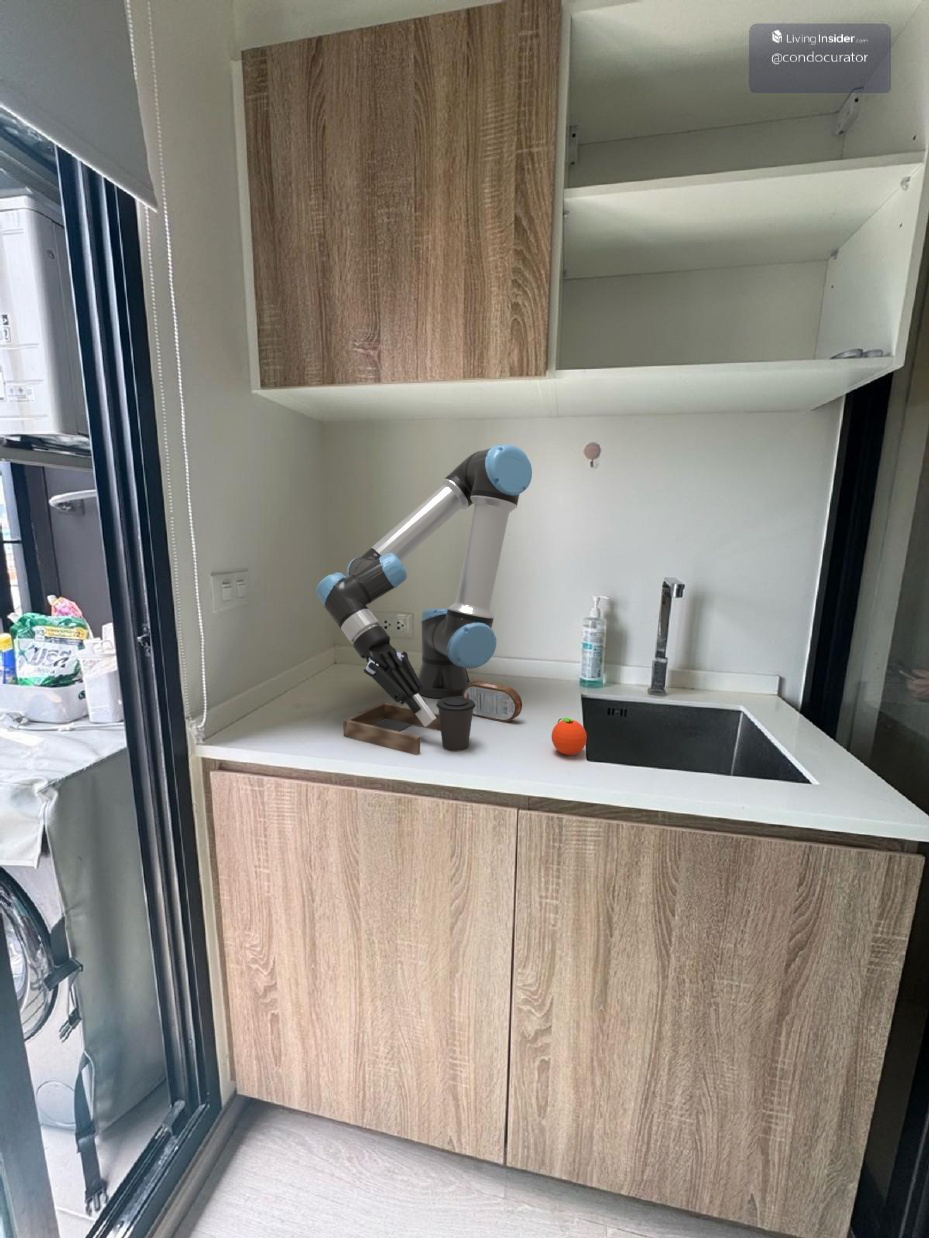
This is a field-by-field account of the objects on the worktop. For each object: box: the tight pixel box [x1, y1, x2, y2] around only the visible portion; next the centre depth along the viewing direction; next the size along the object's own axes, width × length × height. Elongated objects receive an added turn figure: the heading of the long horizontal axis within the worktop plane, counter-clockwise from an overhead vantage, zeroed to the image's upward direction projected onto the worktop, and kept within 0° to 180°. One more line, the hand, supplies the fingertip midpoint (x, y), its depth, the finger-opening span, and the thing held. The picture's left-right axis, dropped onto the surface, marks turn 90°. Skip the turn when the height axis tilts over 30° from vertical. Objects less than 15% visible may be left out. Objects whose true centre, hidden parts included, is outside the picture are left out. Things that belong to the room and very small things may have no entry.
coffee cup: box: [435, 696, 476, 752], centre depth 108 cm, size 8×8×10 cm
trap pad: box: [372, 718, 412, 732], centre depth 116 cm, size 7×11×1 cm, turn 151°
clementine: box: [551, 717, 588, 756], centre depth 105 cm, size 8×7×7 cm
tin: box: [462, 680, 523, 723], centre depth 124 cm, size 15×3×8 cm, turn 59°
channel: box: [342, 701, 441, 756], centre depth 114 cm, size 19×14×4 cm
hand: (430, 722), depth 109 cm, fingers closed
